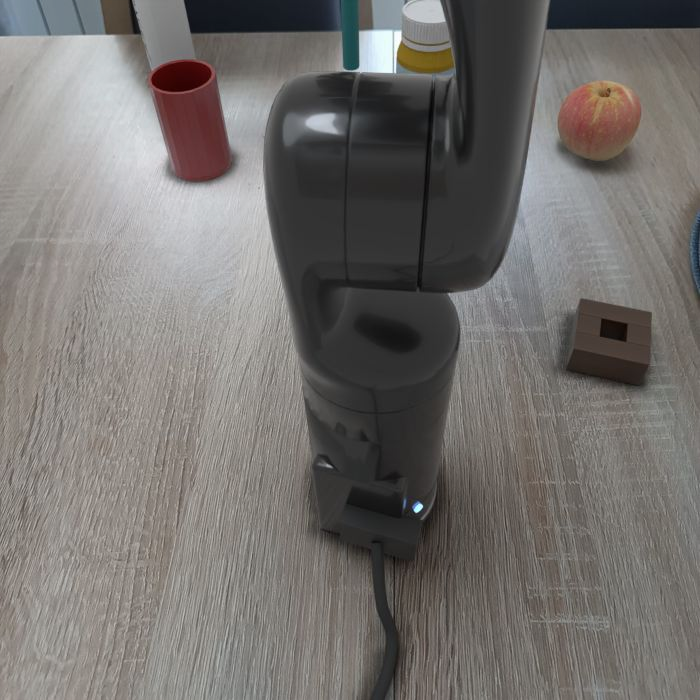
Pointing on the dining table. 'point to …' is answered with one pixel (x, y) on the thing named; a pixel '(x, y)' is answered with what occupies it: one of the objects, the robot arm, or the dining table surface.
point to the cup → (191, 118)
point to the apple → (599, 120)
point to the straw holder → (610, 341)
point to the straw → (350, 33)
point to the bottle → (424, 40)
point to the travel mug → (164, 31)
